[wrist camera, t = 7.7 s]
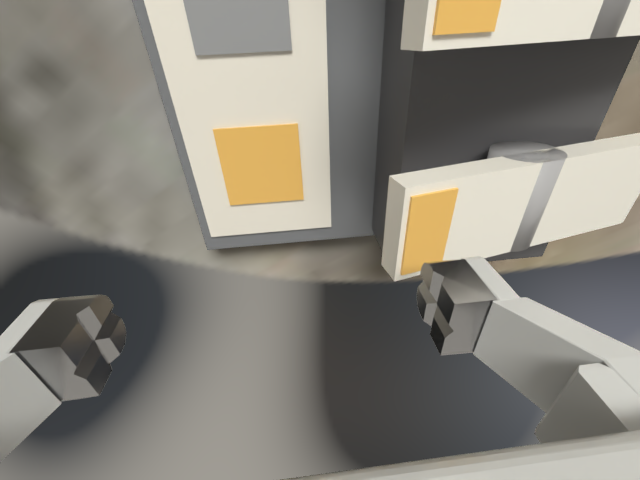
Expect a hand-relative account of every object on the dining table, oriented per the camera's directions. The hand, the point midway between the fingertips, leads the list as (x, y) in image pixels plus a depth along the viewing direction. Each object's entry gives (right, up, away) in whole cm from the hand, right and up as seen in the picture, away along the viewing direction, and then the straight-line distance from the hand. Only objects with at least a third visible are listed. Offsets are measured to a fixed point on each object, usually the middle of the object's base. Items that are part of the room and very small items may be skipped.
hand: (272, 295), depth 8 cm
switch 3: (+8, +4, +5) cm, 10 cm away
